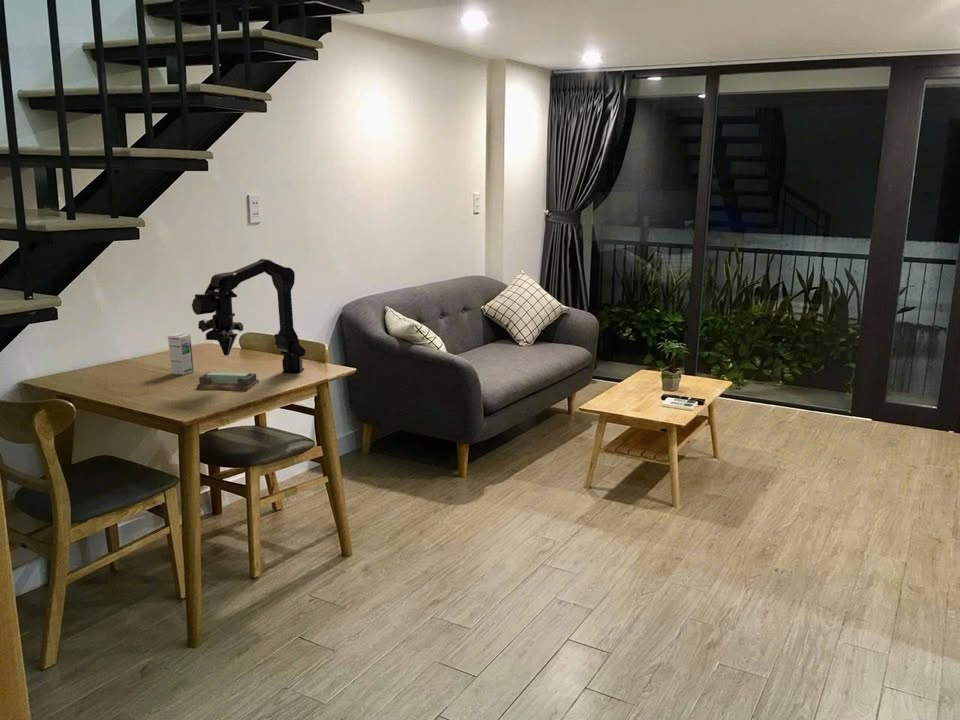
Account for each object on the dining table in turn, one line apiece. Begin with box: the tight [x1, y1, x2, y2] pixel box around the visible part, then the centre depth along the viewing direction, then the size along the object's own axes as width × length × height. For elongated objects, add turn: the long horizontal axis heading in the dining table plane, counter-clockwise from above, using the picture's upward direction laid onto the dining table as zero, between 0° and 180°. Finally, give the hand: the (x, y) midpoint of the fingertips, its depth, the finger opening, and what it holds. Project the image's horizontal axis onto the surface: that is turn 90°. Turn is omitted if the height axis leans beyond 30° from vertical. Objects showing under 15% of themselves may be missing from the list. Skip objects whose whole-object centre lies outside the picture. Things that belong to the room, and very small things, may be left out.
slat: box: [206, 371, 249, 384], centre depth 283 cm, size 14×4×3 cm, turn 86°
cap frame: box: [196, 371, 260, 391], centre depth 283 cm, size 18×11×4 cm, turn 85°
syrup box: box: [167, 332, 194, 376], centre depth 299 cm, size 6×6×14 cm
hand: (226, 355), depth 281 cm, fingers closed
